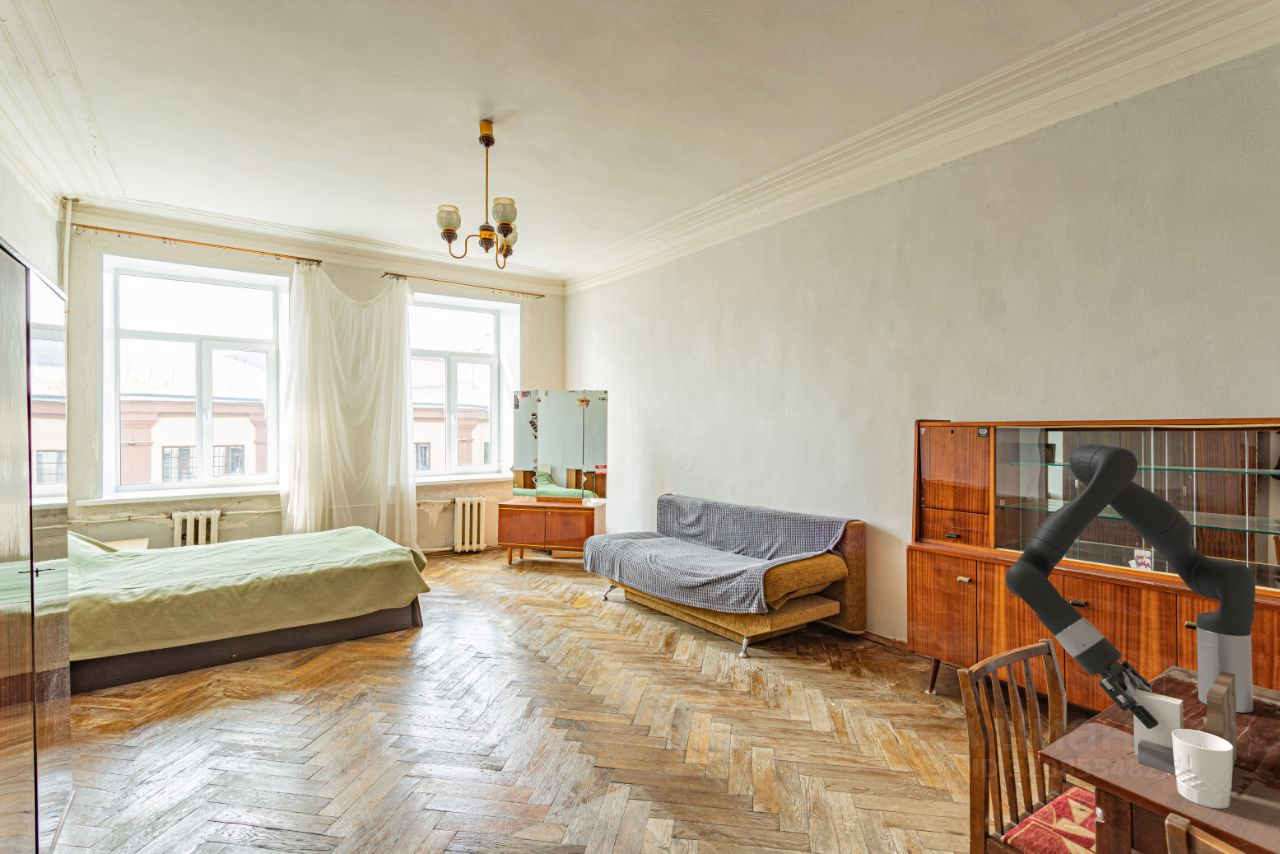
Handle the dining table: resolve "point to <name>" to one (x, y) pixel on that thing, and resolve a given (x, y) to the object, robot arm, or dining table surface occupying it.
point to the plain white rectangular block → (1158, 719)
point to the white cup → (1203, 767)
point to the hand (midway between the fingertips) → (1159, 719)
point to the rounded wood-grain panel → (1216, 723)
